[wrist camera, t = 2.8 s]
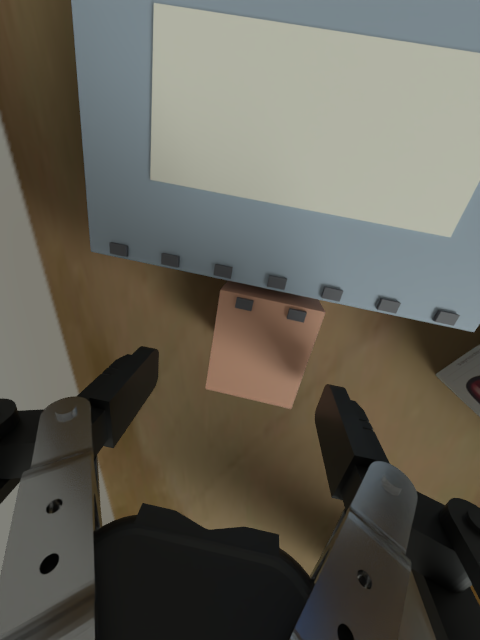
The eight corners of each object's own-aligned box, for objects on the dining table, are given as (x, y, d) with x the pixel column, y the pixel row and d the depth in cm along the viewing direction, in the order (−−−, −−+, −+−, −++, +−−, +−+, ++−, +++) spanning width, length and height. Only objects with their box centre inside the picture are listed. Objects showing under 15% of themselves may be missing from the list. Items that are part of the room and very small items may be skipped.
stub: (308, 281, 16) (326, 313, 11) (286, 354, 19) (291, 411, 13) (237, 266, 17) (219, 291, 11) (225, 340, 19) (204, 391, 13)
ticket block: (496, 107, 12) (697, 4, 6) (405, 293, 16) (477, 334, 10) (154, 50, 13) (59, -84, 7) (150, 241, 17) (87, 252, 11)
